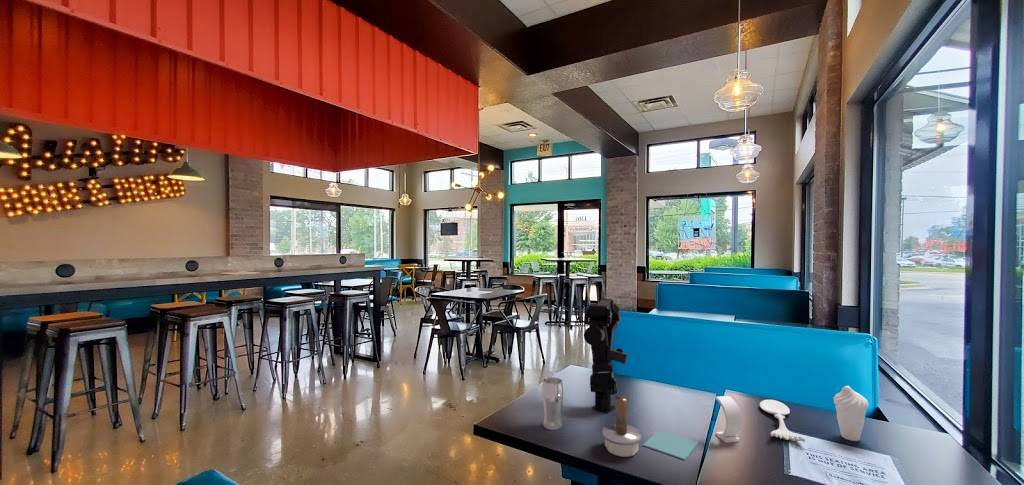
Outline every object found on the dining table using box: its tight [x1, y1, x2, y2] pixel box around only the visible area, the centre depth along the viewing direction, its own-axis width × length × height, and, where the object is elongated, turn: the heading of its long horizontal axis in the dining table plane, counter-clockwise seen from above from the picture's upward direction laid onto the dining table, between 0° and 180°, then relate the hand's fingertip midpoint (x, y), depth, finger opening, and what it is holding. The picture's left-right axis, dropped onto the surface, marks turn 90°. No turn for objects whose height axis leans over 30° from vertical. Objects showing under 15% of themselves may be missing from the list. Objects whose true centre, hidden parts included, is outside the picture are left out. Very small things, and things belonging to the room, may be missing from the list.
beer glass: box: [541, 376, 564, 431], centre depth 134 cm, size 7×7×15 cm
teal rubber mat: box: [643, 429, 699, 461], centre depth 122 cm, size 12×12×1 cm
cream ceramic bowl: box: [604, 438, 640, 458], centre depth 119 cm, size 9×9×4 cm
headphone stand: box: [715, 395, 743, 443], centre depth 125 cm, size 5×6×12 cm
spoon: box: [759, 399, 806, 443], centre depth 135 cm, size 9×32×4 cm, turn 155°
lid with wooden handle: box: [601, 395, 642, 445], centre depth 119 cm, size 11×11×11 cm
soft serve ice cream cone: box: [832, 385, 869, 442], centre depth 125 cm, size 8×8×16 cm
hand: (605, 391), depth 134 cm, fingers open, 9 cm apart
